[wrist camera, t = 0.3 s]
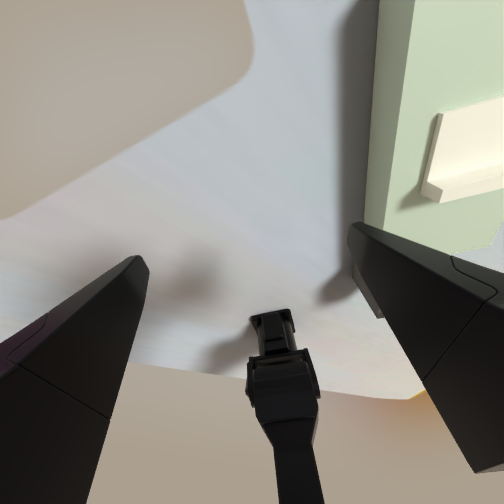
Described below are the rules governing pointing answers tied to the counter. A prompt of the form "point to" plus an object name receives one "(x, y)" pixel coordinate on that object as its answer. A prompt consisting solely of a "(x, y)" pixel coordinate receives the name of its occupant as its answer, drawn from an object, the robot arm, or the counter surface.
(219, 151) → the counter surface
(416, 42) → the socket
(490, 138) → the shutter
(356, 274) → the plug
